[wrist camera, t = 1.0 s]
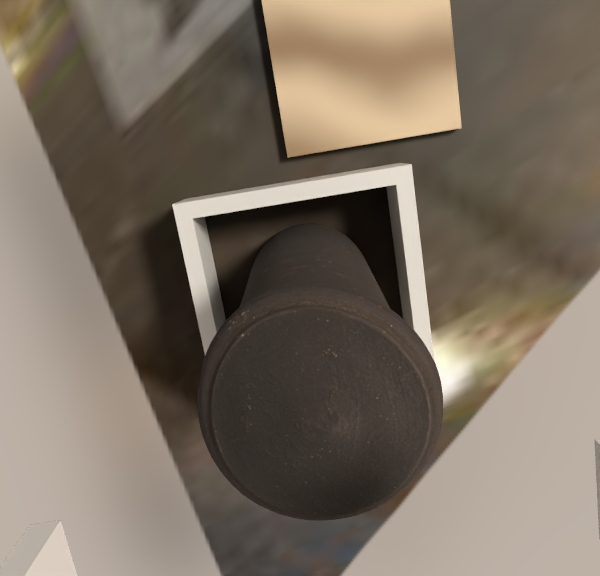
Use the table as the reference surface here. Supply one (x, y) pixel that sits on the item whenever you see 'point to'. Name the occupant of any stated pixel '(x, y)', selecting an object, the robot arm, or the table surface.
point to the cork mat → (361, 71)
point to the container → (318, 384)
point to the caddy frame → (391, 176)
